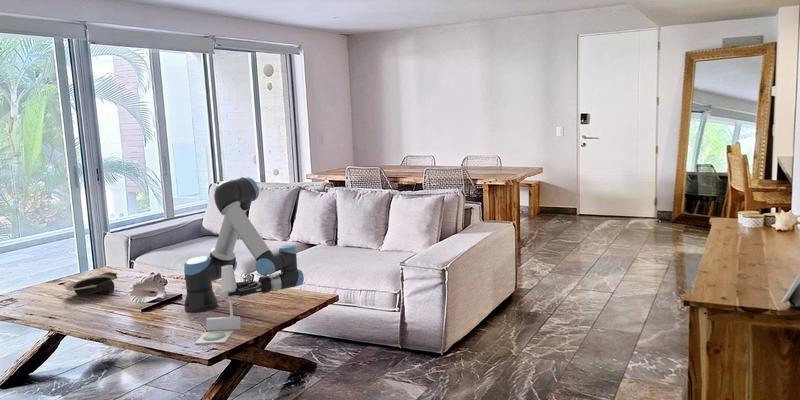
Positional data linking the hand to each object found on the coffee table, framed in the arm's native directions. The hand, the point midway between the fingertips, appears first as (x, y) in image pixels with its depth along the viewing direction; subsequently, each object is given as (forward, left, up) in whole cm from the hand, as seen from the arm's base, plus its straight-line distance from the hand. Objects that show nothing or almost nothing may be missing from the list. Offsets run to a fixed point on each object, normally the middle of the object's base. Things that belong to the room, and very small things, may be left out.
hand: (217, 293), depth 261 cm
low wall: (+3, -6, -14) cm, 16 cm away
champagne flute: (+4, +3, -13) cm, 14 cm away
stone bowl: (-85, +59, -14) cm, 104 cm away
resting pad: (+2, -16, -14) cm, 22 cm away
